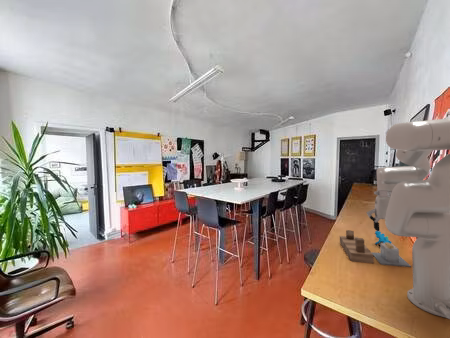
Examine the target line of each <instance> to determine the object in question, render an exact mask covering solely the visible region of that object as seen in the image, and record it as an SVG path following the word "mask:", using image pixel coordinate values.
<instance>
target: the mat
mask: <svg viewBox="0 0 450 338" xmlns="http://www.w3.org/2000/svg"><path fill="white" fill-rule="evenodd" d="M371 253H372V254H373V258H374V259H375V260H376V261H377V262H378V264H379V265H384V266H392V267H393V266H394V267H405V268H411V267H412V266H411V264H409V263H408V262H407V261H406V260H405V259H404V258H403V257H402V256H400V255H399V262H390V261H386V260H385V259H384V258H383V257H382V256H381V252H373V251H372V252H371Z"/></svg>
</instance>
